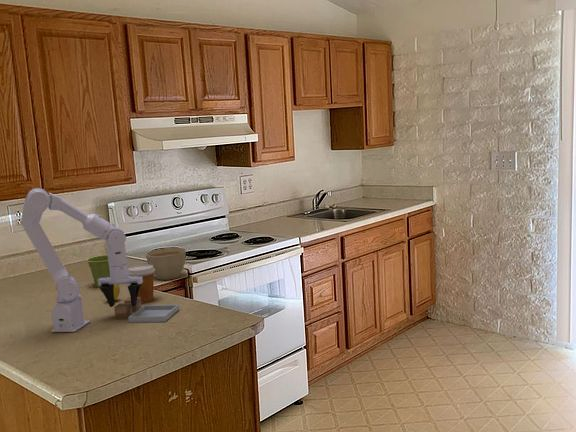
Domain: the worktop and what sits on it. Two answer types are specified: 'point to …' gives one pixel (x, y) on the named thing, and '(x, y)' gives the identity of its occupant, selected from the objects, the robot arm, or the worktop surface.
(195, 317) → the worktop surface
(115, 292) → the lemon
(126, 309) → the walnut block
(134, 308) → the walnut block
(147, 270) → the disposable coffee cup
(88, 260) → the plant pot
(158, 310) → the tray
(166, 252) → the planter bowl
